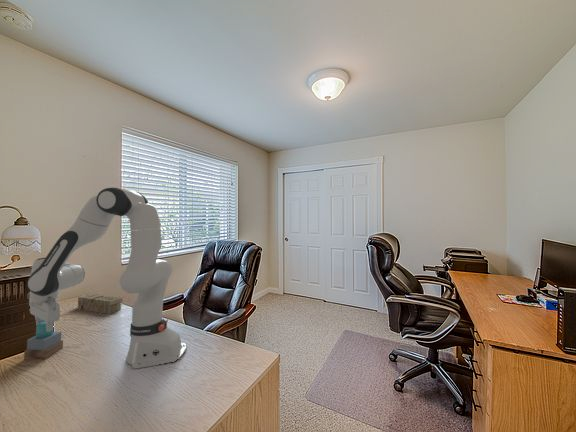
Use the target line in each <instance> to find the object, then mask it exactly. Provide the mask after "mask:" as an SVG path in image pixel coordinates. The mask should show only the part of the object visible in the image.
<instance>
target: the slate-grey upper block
mask: <svg viewBox="0 0 576 432" xmlns="http://www.w3.org/2000/svg"><path fill="white" fill-rule="evenodd" d="M61 340H62V331H53V334H52V335H51V336H48V337H45V338H36V335H35V336H31V337H30V338H28V339H27V340H26V341H27V342H26V350H45V349H47V348H49V347H51V346H53V345H55V344H57V343H58V342H60V341H61Z"/></svg>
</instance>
